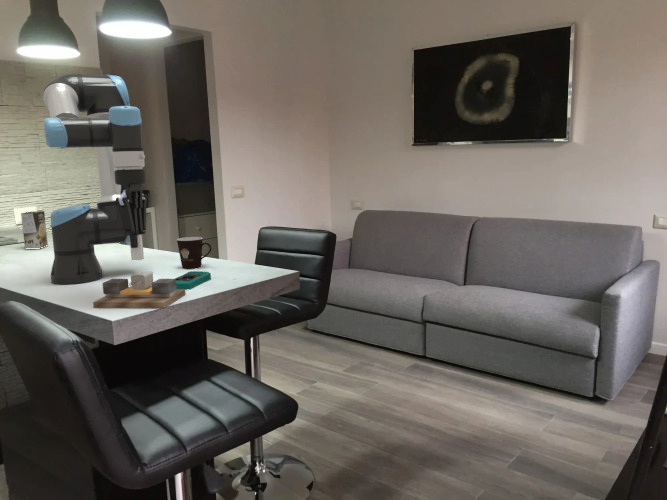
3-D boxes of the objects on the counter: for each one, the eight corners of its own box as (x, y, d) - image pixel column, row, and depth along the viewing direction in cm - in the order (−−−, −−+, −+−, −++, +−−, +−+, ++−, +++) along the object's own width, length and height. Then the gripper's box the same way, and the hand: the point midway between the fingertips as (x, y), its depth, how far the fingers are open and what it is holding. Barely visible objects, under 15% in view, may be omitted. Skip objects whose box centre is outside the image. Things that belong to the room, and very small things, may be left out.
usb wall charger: (153, 285, 150) (152, 271, 149) (141, 292, 143) (139, 277, 142) (139, 285, 150) (138, 271, 149) (126, 291, 143) (125, 276, 143)
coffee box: (40, 249, 240) (35, 212, 237) (24, 250, 239) (20, 213, 237) (48, 246, 249) (44, 210, 246) (33, 246, 248) (29, 211, 246)
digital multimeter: (165, 290, 160) (164, 280, 159) (190, 279, 174) (189, 270, 174) (188, 291, 158) (188, 281, 158) (211, 280, 172) (211, 270, 172)
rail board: (93, 307, 141) (91, 286, 140) (120, 294, 155) (118, 275, 154) (164, 308, 139) (162, 287, 138) (185, 294, 153) (184, 275, 152)
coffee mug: (174, 267, 191) (171, 239, 190) (195, 263, 197) (193, 236, 196) (192, 272, 183) (190, 242, 182) (214, 267, 190) (212, 238, 188)
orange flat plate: (120, 294, 144) (119, 291, 144) (131, 289, 150) (130, 286, 150) (150, 294, 143) (149, 291, 143) (159, 289, 149) (159, 286, 149)
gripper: (131, 168, 134) (139, 264, 138) (154, 167, 147) (161, 255, 151) (102, 169, 135) (111, 264, 139) (128, 168, 148) (135, 255, 152)
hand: (137, 259), depth 145 cm, fingers closed
